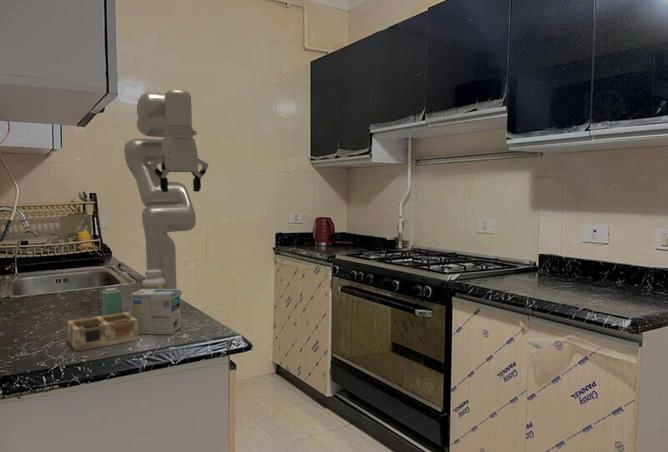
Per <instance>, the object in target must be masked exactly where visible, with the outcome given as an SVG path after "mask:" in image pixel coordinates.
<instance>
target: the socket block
mask: <svg viewBox="0 0 668 452" xmlns="http://www.w3.org/2000/svg"><path fill="white" fill-rule="evenodd" d="M66 323H67V337H68V338H67V340H68V342H69V344H70V345H71V347H72V348H73V350H74V351H75V352H81V351H86V350H92V349H97V348H102V347H108V346H112V345H113V346H114V345H119V344H124V343H129V342H134V341H139V334H138V320H137V319H136V318H134V317H133V316H132V314H130V313H129V312H128V311H125V312H124V311H122V313H117V314H110V315H104V316H103V315H98V316H90V317H85V318H77V319H72V320H71V319H70V320H67V322H66Z"/></svg>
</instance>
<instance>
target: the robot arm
mask: <svg viewBox="0 0 668 452" xmlns="http://www.w3.org/2000/svg"><path fill="white" fill-rule="evenodd" d="M192 109H193V108H192V96H191V94H190V92H188V91H187V90H183V89H170V90H166V92H165V93H159V92H145V93H143V94H142V95H141V96H140V97H139V98H138V100H137V106H136V114H137V117H138V118H137V120H136V128H137V130H138V132H140V133H141V134H142V135H143V136H147V137H155V138H132V139H130V140H127V142H126V143H125V144H124V149H123V150H124V151H123V153H124V159H125V162H126V165H127V167H128V169H129V171H130V173H131V174H132V176H133V178H134V179H135V181H136V185H137V189H138V192H139V196H140V200H141V202H142V204H143V206H144V207H145V208H144V209H143V210H142V214H141V221H142V226H143V232H144V238H145V254H146V255H145V257H146V261H145V262H146V271H147V270H154V269H158V270H162V275H161V277H162V278H164V279H165V281H166V289H178V288H177V285H178V284H177V265H176V264H177V261H176V260H177V255H176V245H175V242H174V240H173V239H172V238H171V237H170V236H169V233H173V232H175V233H176V232H186V231H187V232H189V231H191V230H192V229H194V228H195V226H196V223H197V220H196V219H197V218H196V213H195V212H196V211H195V209H194V206H193V203H192V200H191V197H190V194H189V191H188V188H187V187H186V185H185V184H184V183H182V182H178V181H168V180H169V179H168V178H167V176H168V174H169V173H190V174H192V176H193V177H194V178H192V182H193V183H192V185H193V192H201V187H202V185H201V184H202V183H201V179H202V178H203V176H204V175H205V174H206V173H207V170H208V167H209V163H207V162H205V161H204V160H202V159H200V158H199V155H198V149H197V143H196V139H195V138H193V137H194V136H197V134H198V132H197V130H194V128H193V116H192V115H193V113H192V111H193V110H192ZM156 137H157V138H156ZM159 138H162V139H159ZM158 165H160V169H159V167H158ZM199 166H201V169H200V170H199ZM181 295H182V290H180V296H181Z"/></svg>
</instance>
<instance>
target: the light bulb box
mask: <svg viewBox="0 0 668 452" xmlns="http://www.w3.org/2000/svg"><path fill="white" fill-rule="evenodd" d="M180 291H181V290H180V288H177V289H142V288H141V289H139V290H137V291H134V292H132V293H131V315H132V316H133V317H134V318H136V319H137V320H138V335H174V334H175V333H176V332H177V331H178V330H179V329H180V328H182V319H181V318H182V316H181V315H182V314H181V295H180Z"/></svg>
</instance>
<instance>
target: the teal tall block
mask: <svg viewBox="0 0 668 452" xmlns="http://www.w3.org/2000/svg"><path fill="white" fill-rule="evenodd" d="M122 302H123V301H122V291H121V290H119V289H117V288H116V287H112V288H105V289H104V290H102V291H101V310H102V312H101V313H102V316H104V315H110V314H117V313H123V305H122V304H123V303H122Z"/></svg>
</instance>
